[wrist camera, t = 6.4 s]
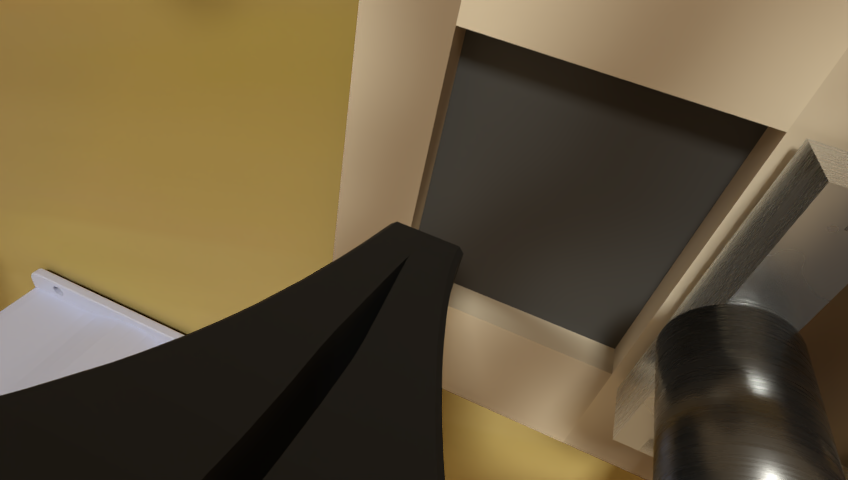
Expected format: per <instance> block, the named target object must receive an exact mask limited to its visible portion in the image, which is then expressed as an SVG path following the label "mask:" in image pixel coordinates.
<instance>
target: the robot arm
mask: <svg viewBox="0 0 848 480" xmlns="http://www.w3.org/2000/svg"><path fill="white" fill-rule="evenodd" d="M462 257H463V252H462V250H461V248H460V246H457V245H455V244H452V243H450V242H447V241H445V240H442V239H440V238H437V237H435V236H432V235H430V234H427V233H425V232H422V231H420V230H417V229H415V228H412V227H410V226H407V225H405V224H402V223H400V222H394V223H391V224H390V225H388V226H387V227H385V228H384V229H382V230H381V231H379V232H378V233H377V234H375V235H374V236H372V237H371V238H369V239H368V240H366V241H365V242H363V243H362V244H360V245H359V246H357V247H355V248H354V249H352V250H351V251H349V252H348V253H346V254H344V255H343V256H341V257H340V258H338V259H336V260H335V261H333V262H331V263H330V264H328V265H326V266H325V267H323V268H321V269H320V270H318V271H316V272H314V273H313V274H311V275H309V276H308V277H306V278H304V279H302V280H301V281H299V282H297V283H295V284H293V285H291V286H289V287H287V288H286V289H284V290H282V291H280V292H278V293H276V294H274V295H272V296H270V297H268V298H266V299H265V300H263V301H261V302H259V303H257V304H255V305H253V306H251V307H249V308H246V309H244V310H242V311H240V312H238V313H236V314H234V315H231V316H229V317H227V318H225V319H223V320H220V321H218V322H216V323H213V324H211V325H209V326H206V327H204V328H202V329H199V330H197V331H195V332H192V333H190V334H187V335H183V334H181V333H179V332H177V331H175V330H173V329H170V328H168V327H166V326H164V325H162V324H160V323H158V322H156V321H153V320H151V319H149V318H147V317H145V316H143V315H141V314H138V313H136V312H134V311H132V310H130V309H128V308H126V307H124V306H121V305H119V304H117V303H115V302H113V301H111V300H109V299H107V298H104V297H102V296H100V295H98V294H96V293H94V292H92V291H89V290H87V289H85V288H83V287H81V286H79V285H77V284H75V283H72V282H70V281H68V280H66V279H64V278H62V277H60V276H58V275H55V274H53V273H51V272H49V271H47V270H44V269H38V270H36V271H35V272H33V273H32V275H31V277H32V280H33V282H34V285H35V287H36V288H34V289H33V290H31V291H30V292H28V293H27V294H25V295H24V296H22V297H21V298H19V299H18V300H16V301H15V302H14V303H12V304H11V305H9V306H8V307H6V308H5V309H3V310H2V311H0V480H445V475H444V460H443V437H442V367H443V349H444V338H445V328H446V318H447V310H448V303H449V298H450V293H451V290H452V287H453V284H454V281H455V278H456V275H457V272H458V269H459V266H460V263H461V260H462Z"/></svg>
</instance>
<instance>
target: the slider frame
mask: <svg viewBox="0 0 848 480" xmlns="http://www.w3.org/2000/svg"><path fill="white" fill-rule="evenodd" d="M847 284H848V151H845V150H842V149H839V148H836V147H832V146H829V145H826V144H823V143H820V142H817V141H814V140H811V139H808V138H807V139H806V140H805V141H804V143H803V144H802V145H801V147H800V148H799V149H798V151H797V152H796V153H795V155H794V156H793V157H792V159H791V160H790V161H789V162H788V164H787V165H786V166H785V168H784V169H783V170H782V172H781V173H780V174H779V176H778V177H777V178H776V180H775V181H774V182H773V184H772V185H771V186H770V188H769V189H768V190H767V192H766V193H765V194H764V196H763V197H762V198H761V200H760V201H759V202H758V203H757V205H756V206H755V207H754V209H753V210H752V211H751V213H750V214H749V215H748V217H747V218H746V219H745V221H744V222H743V223H742V225H741V226H740V227H739V229H738V230H737V231H736V233H735V234H734V235H733V237H732V238H731V239H730V240H729V242H728V243H727V244H726V246H725V247H724V248H723V250H722V251H721V252H720V254H719V255H718V256H717V258H716V259H715V260H714V262H713V263H712V264H711V266H710V267H709V268H708V270H707V271H706V272H705V274H704V275H703V276H702V277H701V279H700V280H699V281H698V283H697V284H696V285H695V287H694V288H693V289H692V291H691V292H690V293H689V295H688V296H687V297H686V299H685V300H684V301H683V303H682V304H681V305H680V307H679V308H678V309H677V311H676V312H675V313H674V314H673V316H672V317H671V318H670V320H669V321H668V322H667V324H666V325H665V326H664V328H663V329H662V330H661V332H660V333H659V334H658V336H657V337H656V338H655V340H654V341H653V342H652V344H651V345H650V346H649V348H648V349H647V350H646V352H645V353H644V354H643V355H642V357H641V358H640V359H639V361H638V362H637V363H636V365H635V366H634V367H633V369H632V370H631V371H630V373H629V374H628V375H627V377H626V378H625V379H624V381H623V382H622V383H621V385H620V386H619V387H618V389H617V397H616V408H615V419H614V430H613V440H615V441H617V442H620V443H622V444H624V445H627V446H629V447H631V448H633V449H636V450H638V451H640V452H643V453H645V454H647V455H649V456H652V457H653V480H848V466H846V465H843V464H841V462H840V459H839V455H838V452H837V448H836V445H835V441H834V438H833V435H832V431H831V428H830V424H829V421H828V417H827V414H826V410H825V407H824V404H823V400H822V397H821V393H820V390H819V386H818V383H817V379H816V376H815V373H814V369H813V366H812V362H811V359H810V355H809V352H808V348H807V345H806V343H805V341H804V339H803V337H802V336H801V334H800V333H799V331H800V330H801V329H802V328H803V327H804V326H805V325H806V324H807V323H808V322H809V321H810V320H811V319H812V318H813V317H814V316H815V315H816V314H817V313H818V312H819V311H820V310H821V309H822V308H823V307H824V306H825V305H827V304H828V303H829V302H830V301H831V300H832V299H833V298H834V297H835V296H836V295H837V294H838V293H839V292H840V291H841V290H842V289H843V288H844V287H845V286H846V285H847Z"/></svg>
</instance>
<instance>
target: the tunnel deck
mask: <svg viewBox="0 0 848 480" xmlns="http://www.w3.org/2000/svg"><path fill="white" fill-rule="evenodd" d="M807 138H808V139H811V140H814V141H817V142H820V143H823V144H826V145H829V146H832V147H836V148H839V149H842V150H845V151H848V0H359V7H358V17H357V27H356V37H355V46H354V56H353V66H352V76H351V86H350V96H349V106H348V115H347V125H346V135H345V145H344V155H343V165H342V174H341V184H340V194H339V204H338V214H337V224H336V233H335V243H334V253H333V261H335V260H336V259H338V258H340V257H341V256H343V255H344V254H346V253H348V252H349V251H351V250H352V249H354V248H355V247H357V246H359V245H360V244H362V243H363V242H365V241H366V240H368V239H369V238H371V237H372V236H374V235H375V234H377V233H378V232H379V231H381V230H382V229H384V228H385V227H387V226H388V225H390V224H391V223H394V222H400V223H402V224H405V225H407V226H410V227H412V228H415V229H417V230H420V231H422V232H425V233H427V234H430V235H432V236H435V237H437V238H440V239H442V240H445V241H447V242H450V243H452V244H455V245H457V246H460V248H461V250H462V252H463V257H462V260H461V263H460V266H459V269H458V272H457V275H456V278H455V281H454V284H453V287H452V290H451V293H450V298H449V303H448V310H447V318H446V328H445V338H444V349H443V367H442V389H444V390H447V391H449V392H451V393H453V394H456V395H458V396H460V397H462V398H465V399H467V400H469V401H471V402H473V403H476V404H478V405H480V406H482V407H485V408H487V409H489V410H491V411H494V412H496V413H498V414H500V415H503V416H505V417H507V418H509V419H512V420H514V421H516V422H518V423H520V424H523V425H525V426H527V427H529V428H532V429H534V430H536V431H538V432H541V433H543V434H545V435H547V436H550V437H552V438H554V439H556V440H559V441H561V442H563V443H565V444H567V445H570V446H572V447H574V448H576V449H579V450H581V451H583V452H585V453H588V454H590V455H592V456H594V457H597V458H599V459H601V460H603V461H606V462H608V463H610V464H612V465H614V466H617V467H619V468H621V469H623V470H626V471H628V472H630V473H632V474H635V475H637V476H639V477H641V478H644V479H646V480H653V457H652V456H649V455H647V454H645V453H643V452H640V451H638V450H636V449H633V448H631V447H629V446H627V445H624V444H622V443H620V442H617V441H615V440H613V430H614V419H615V408H616V397H617V389H618V387H619V386H620V385H621V383H622V382H623V381H624V379H625V378H626V377H627V375H628V374H629V373H630V371H631V370H632V369H633V367H634V366H635V365H636V363H637V362H638V361H639V359H640V358H641V357H642V355H643V354H644V353H645V352H646V350H647V349H648V348H649V346H650V345H651V344H652V342H653V341H654V340H655V338H656V337H657V336H658V334H659V333H660V332H661V330H662V329H663V328H664V326H665V325H666V324H667V322H668V321H669V320H670V318H671V317H672V316H673V314H674V313H675V312H676V311H677V309H678V308H679V307H680V305H681V304H682V303H683V301H684V300H685V299H686V297H687V296H688V295H689V293H690V292H691V291H692V289H693V288H694V287H695V285H696V284H697V283H698V281H699V280H700V279H701V277H702V276H703V275H704V274H705V272H706V271H707V270H708V268H709V267H710V266H711V264H712V263H713V262H714V260H715V259H716V258H717V256H718V255H719V254H720V252H721V251H722V250H723V248H724V247H725V246H726V244H727V243H728V242H729V240H730V239H731V238H732V237H733V235H734V234H735V233H736V231H737V230H738V229H739V227H740V226H741V225H742V223H743V222H744V221H745V219H746V218H747V217H748V215H749V214H750V213H751V211H752V210H753V209H754V207H755V206H756V205H757V203H758V202H759V201H760V200H761V198H762V197H763V196H764V194H765V193H766V192H767V190H768V189H769V188H770V186H771V185H772V184H773V182H774V181H775V180H776V178H777V177H778V176H779V174H780V173H781V172H782V170H783V169H784V168H785V166H786V165H787V164H788V162H789V161H790V160H791V159H792V157H793V156H794V155H795V153H796V152H797V151H798V149H799V148H800V147H801V145H802V144H803V143H804V141H805V140H806V139H807ZM799 333H800V334H801V336H802V337H803V339H804V341H805V343H806V345H807V348H808V352H809V355H810V359H811V362H812V366H813V369H814V373H815V376H816V379H817V383H818V386H819V390H820V393H821V397H822V400H823V404H824V407H825V410H826V414H827V417H828V421H829V424H830V428H831V431H832V435H833V438H834V441H835V445H836V448H837V452H838V455H839V459H840V462H841V464H843V465H846V466H848V284H847V285H846V286H845V287H844V288H843V289H842V290H841V291H840V292H839V293H838V294H837V295H836V296H835V297H834V298H833V299H832V300H831V301H830V302H829V303H828V304H827V305H825V306H824V307H823V308H822V309H821V310H820V311H819V312H818V313H817V314H816V315H815V316H814V317H813V318H812V319H811V320H810V321H809V322H808V323H807V324H806V325H805V326H804V327H803V328H802V329H801V330H800V331H799Z"/></svg>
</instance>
